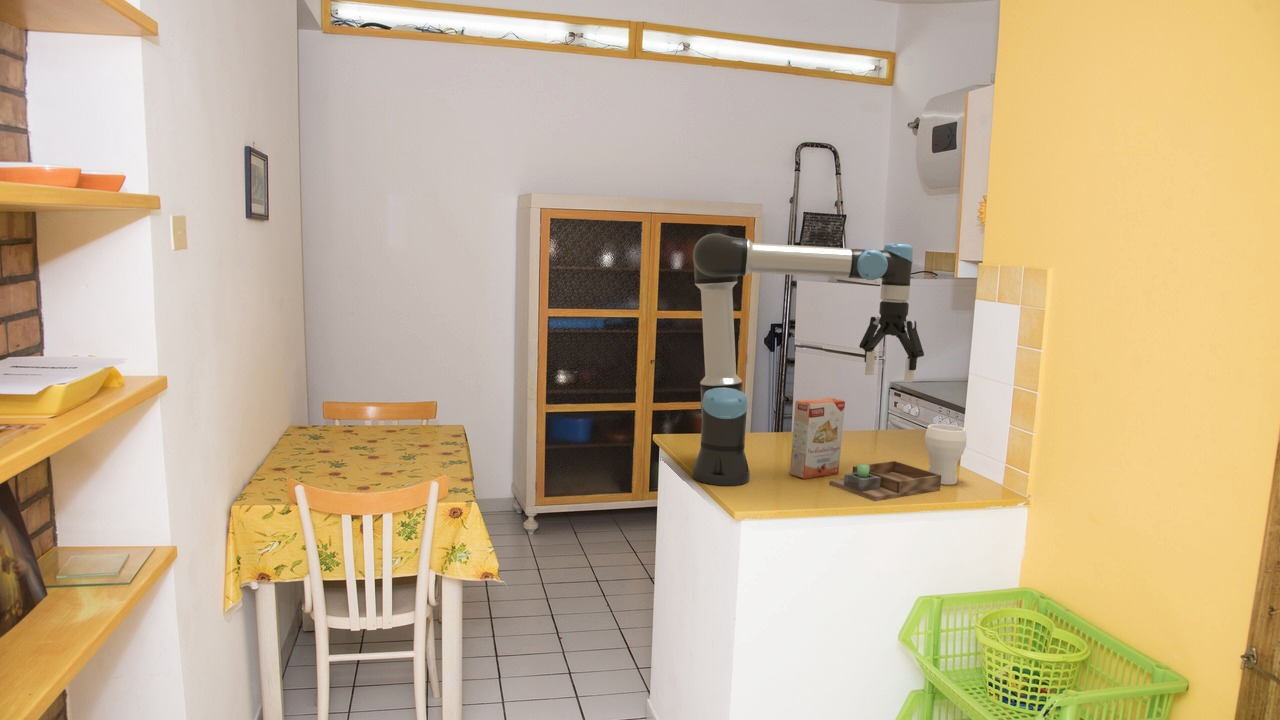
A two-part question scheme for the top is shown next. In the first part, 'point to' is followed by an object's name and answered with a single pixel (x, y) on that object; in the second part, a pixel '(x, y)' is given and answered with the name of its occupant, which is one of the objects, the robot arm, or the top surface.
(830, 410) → the cracker box
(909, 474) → the wooden tray
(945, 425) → the cup
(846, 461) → the top surface
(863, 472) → the button
